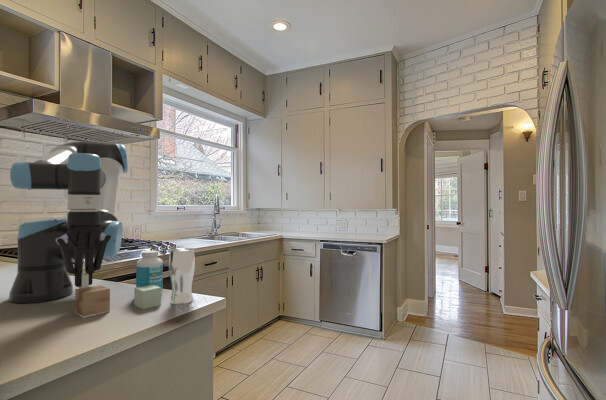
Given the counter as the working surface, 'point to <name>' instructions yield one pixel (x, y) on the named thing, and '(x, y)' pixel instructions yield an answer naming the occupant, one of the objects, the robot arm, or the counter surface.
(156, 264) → the pill bottle
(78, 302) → the walnut block
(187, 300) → the beer glass
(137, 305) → the sage block
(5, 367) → the counter surface
